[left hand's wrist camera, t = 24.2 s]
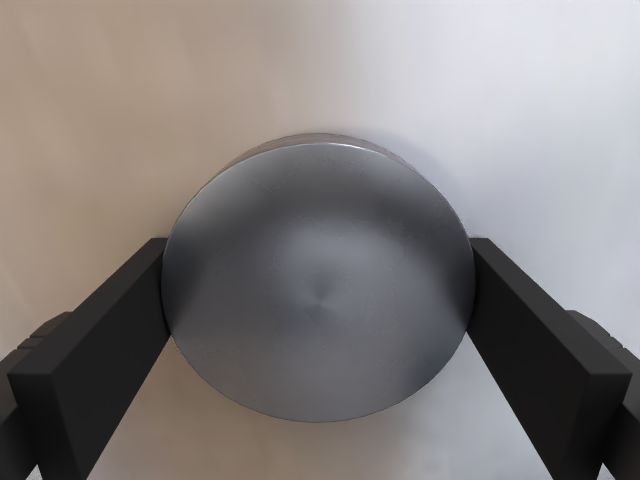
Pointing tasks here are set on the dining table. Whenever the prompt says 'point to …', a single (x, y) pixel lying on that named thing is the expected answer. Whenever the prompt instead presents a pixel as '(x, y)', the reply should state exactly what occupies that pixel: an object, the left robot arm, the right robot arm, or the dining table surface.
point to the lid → (318, 279)
